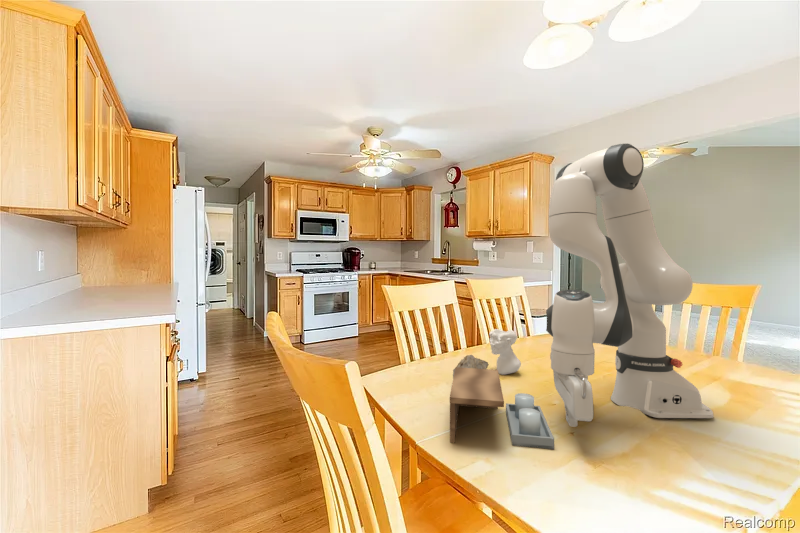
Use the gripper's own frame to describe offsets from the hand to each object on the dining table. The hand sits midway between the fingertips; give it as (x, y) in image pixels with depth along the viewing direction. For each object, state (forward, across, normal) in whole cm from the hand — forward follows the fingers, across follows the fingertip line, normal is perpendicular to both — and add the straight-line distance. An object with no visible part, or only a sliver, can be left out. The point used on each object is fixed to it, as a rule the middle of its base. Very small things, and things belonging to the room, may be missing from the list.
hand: (571, 423), depth 81 cm
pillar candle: (+1, -5, +10) cm, 11 cm away
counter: (+2, 0, +21) cm, 21 cm away
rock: (+2, +23, +23) cm, 33 cm away
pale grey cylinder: (+1, +5, +10) cm, 11 cm away
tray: (+2, 0, +10) cm, 10 cm away
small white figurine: (+2, +40, +12) cm, 42 cm away
